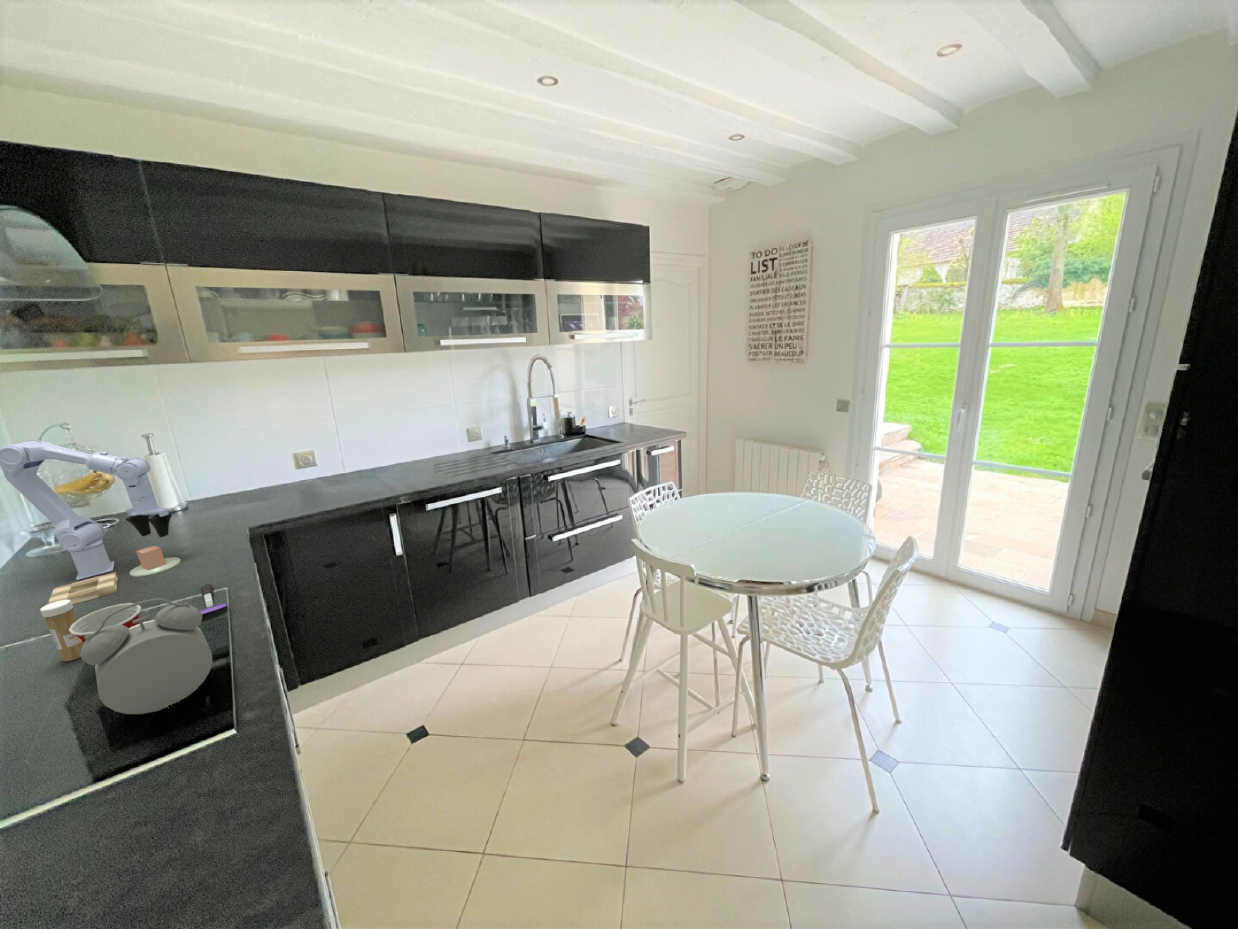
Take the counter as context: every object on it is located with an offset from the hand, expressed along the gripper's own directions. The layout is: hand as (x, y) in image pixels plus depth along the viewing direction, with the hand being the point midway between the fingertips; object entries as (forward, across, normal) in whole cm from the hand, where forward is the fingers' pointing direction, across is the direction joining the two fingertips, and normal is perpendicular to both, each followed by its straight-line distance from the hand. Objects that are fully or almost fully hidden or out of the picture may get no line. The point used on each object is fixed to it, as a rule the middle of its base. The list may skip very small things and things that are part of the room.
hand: (155, 535), depth 154 cm
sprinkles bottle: (+10, +36, -43) cm, 57 cm away
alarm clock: (+10, +76, -51) cm, 92 cm away
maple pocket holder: (+9, 0, -20) cm, 22 cm away
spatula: (+10, +44, -19) cm, 49 cm away
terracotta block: (+9, +2, -4) cm, 10 cm away
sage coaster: (+9, +2, -4) cm, 10 cm away
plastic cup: (+10, +52, -44) cm, 68 cm away
